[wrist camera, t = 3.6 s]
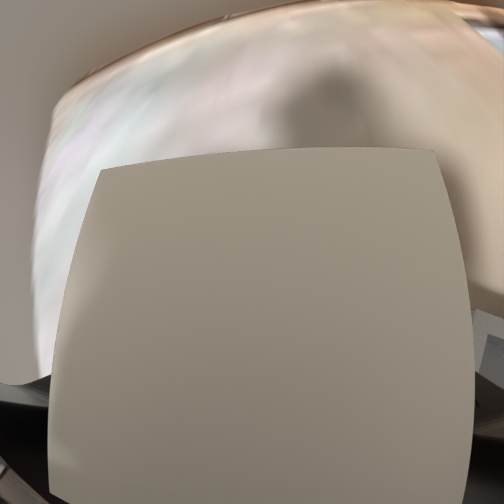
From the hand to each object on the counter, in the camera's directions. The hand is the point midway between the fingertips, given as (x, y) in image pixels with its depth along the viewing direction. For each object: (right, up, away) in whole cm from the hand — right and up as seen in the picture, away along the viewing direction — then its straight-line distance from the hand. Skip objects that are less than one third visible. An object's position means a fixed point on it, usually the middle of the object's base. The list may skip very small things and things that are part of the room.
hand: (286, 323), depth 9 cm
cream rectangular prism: (+1, -4, +6) cm, 7 cm away
